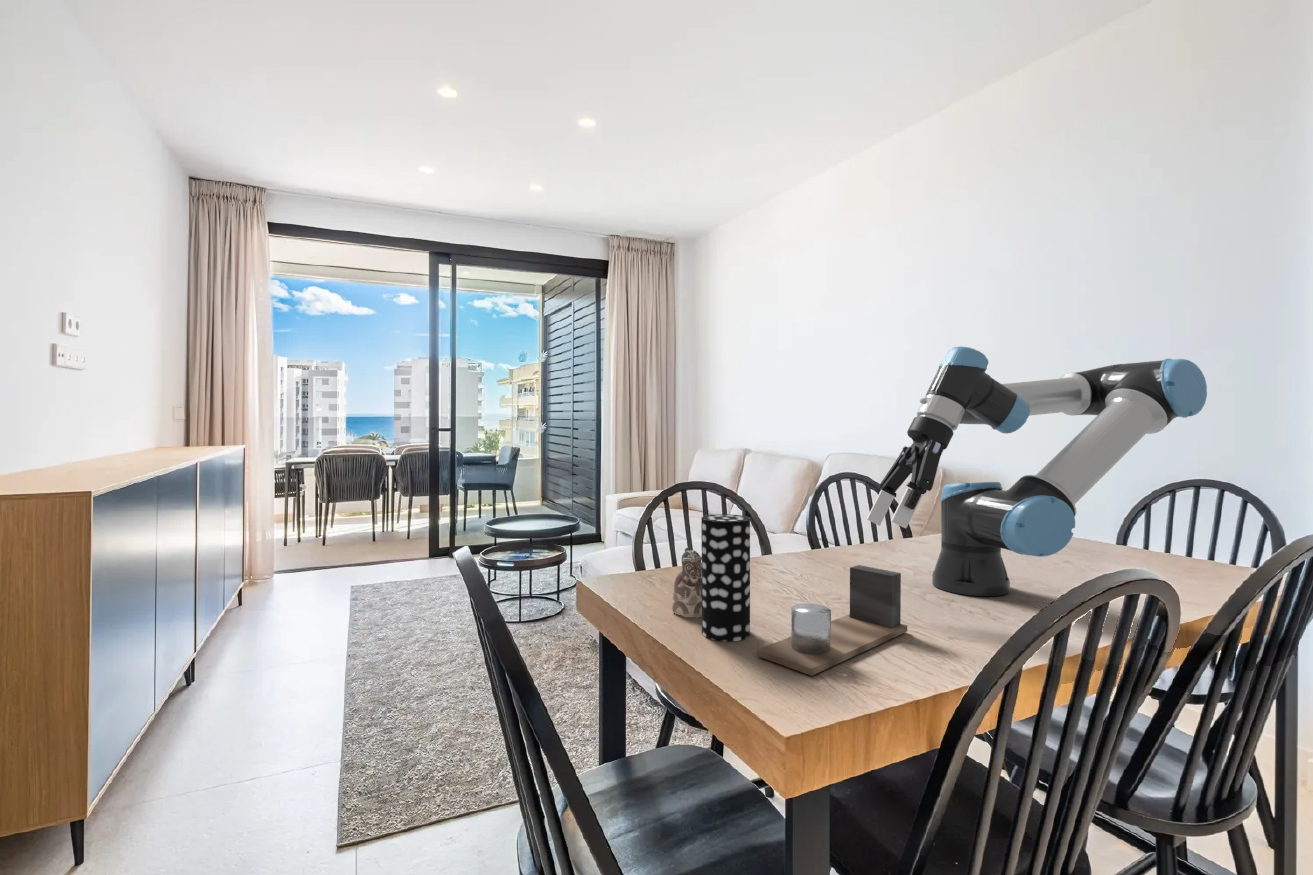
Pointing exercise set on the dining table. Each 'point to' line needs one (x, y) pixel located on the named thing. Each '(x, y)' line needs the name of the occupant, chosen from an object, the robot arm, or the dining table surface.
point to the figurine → (688, 586)
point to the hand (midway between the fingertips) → (884, 523)
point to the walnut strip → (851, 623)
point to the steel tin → (811, 628)
